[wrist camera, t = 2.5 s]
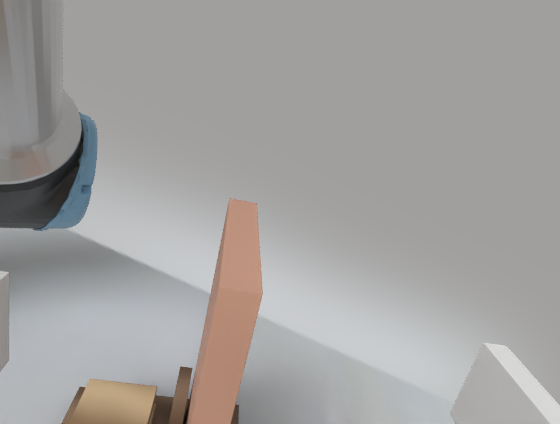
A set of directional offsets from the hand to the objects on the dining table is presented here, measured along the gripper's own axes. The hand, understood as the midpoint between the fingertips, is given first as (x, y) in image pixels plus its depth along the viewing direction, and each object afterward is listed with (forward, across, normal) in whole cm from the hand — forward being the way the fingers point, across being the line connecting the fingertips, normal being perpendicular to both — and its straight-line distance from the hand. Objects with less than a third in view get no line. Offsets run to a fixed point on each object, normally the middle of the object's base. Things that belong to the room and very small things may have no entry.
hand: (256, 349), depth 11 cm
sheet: (+13, 0, -22) cm, 26 cm away
